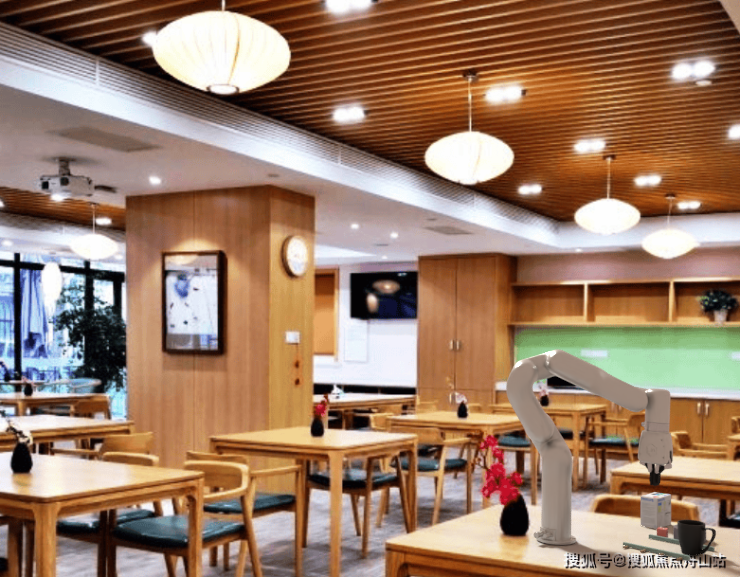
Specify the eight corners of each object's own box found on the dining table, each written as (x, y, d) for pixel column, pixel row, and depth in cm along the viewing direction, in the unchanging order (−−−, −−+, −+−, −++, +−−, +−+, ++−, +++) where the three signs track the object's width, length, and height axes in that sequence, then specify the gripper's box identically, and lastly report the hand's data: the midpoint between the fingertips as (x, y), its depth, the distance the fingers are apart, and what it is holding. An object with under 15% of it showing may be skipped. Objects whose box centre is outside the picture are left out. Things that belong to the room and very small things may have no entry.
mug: (706, 561, 268) (706, 529, 269) (671, 552, 278) (671, 521, 278) (722, 557, 273) (722, 525, 274) (687, 548, 283) (687, 518, 283)
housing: (696, 545, 287) (697, 532, 287) (668, 539, 294) (668, 527, 295) (711, 540, 294) (711, 528, 294) (682, 534, 301) (682, 522, 302)
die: (666, 539, 295) (666, 528, 295) (656, 537, 296) (656, 527, 297) (668, 537, 297) (668, 527, 298) (659, 536, 299) (659, 525, 299)
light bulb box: (654, 521, 321) (654, 491, 321) (671, 525, 316) (672, 494, 316) (639, 526, 313) (639, 495, 313) (657, 529, 308) (657, 498, 309)
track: (683, 562, 267) (683, 558, 267) (618, 547, 283) (618, 543, 283) (714, 550, 280) (714, 547, 280) (650, 537, 296) (650, 534, 296)
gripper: (629, 425, 290) (627, 482, 289) (672, 431, 279) (670, 490, 278) (641, 424, 295) (639, 480, 294) (684, 429, 284) (682, 488, 283)
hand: (654, 485), depth 286 cm, fingers closed
